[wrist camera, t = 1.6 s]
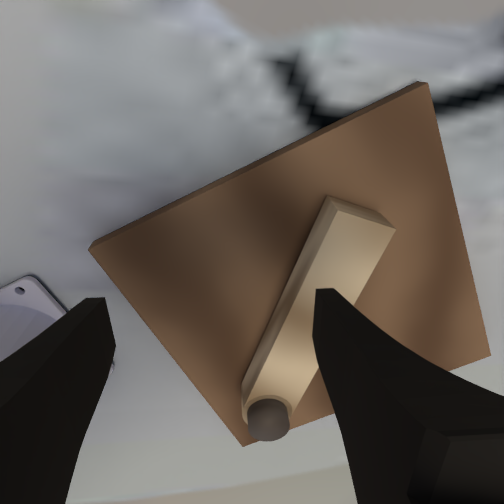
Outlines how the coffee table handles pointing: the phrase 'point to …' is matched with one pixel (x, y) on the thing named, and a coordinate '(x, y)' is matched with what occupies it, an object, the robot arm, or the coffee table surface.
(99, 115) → the coffee table surface
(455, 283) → the board
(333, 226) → the link
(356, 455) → the robot arm
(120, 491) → the coffee table surface
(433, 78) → the coffee table surface
